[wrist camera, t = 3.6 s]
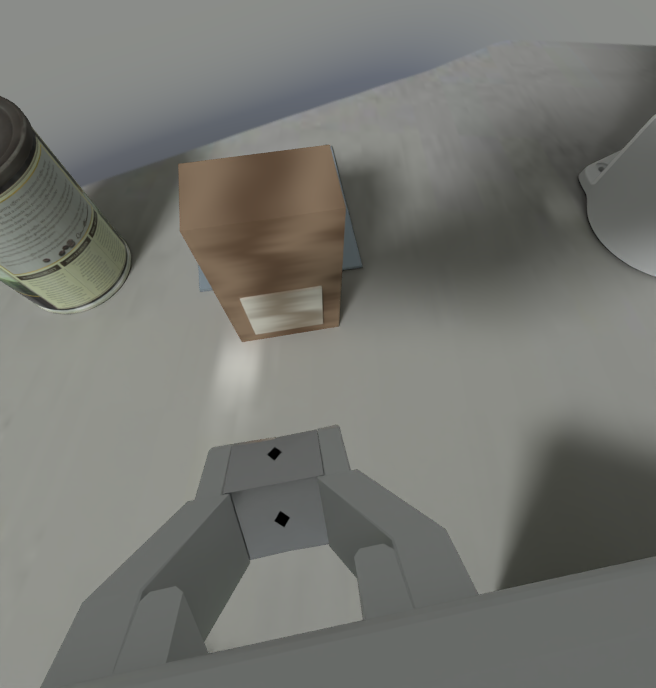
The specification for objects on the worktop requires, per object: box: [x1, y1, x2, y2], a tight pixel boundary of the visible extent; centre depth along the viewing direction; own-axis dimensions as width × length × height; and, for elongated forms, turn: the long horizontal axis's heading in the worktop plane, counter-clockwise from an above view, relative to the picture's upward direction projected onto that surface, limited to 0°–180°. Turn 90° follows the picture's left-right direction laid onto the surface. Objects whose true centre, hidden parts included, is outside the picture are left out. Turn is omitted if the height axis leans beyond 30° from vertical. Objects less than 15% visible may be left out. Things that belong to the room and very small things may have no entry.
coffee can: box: [0, 96, 131, 314], centre depth 30 cm, size 10×10×14 cm
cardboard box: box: [178, 145, 346, 342], centre depth 27 cm, size 9×5×15 cm, turn 100°
